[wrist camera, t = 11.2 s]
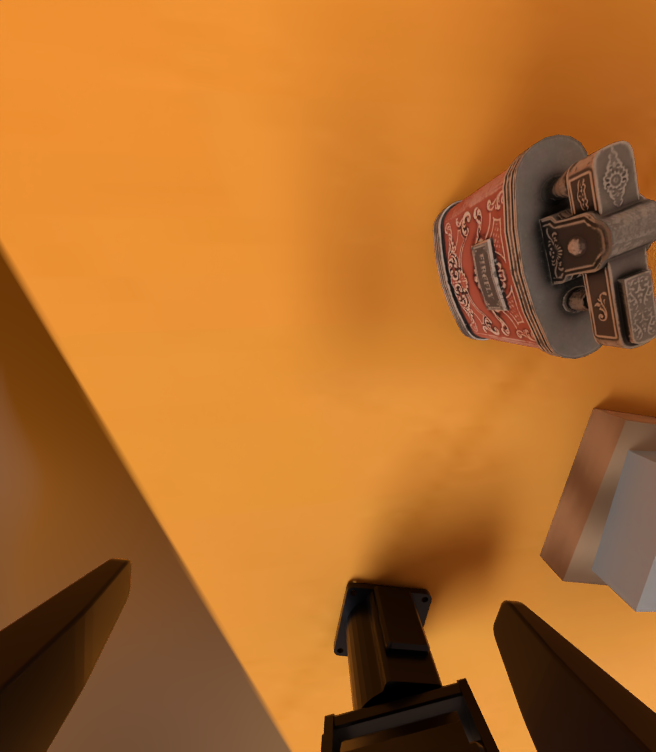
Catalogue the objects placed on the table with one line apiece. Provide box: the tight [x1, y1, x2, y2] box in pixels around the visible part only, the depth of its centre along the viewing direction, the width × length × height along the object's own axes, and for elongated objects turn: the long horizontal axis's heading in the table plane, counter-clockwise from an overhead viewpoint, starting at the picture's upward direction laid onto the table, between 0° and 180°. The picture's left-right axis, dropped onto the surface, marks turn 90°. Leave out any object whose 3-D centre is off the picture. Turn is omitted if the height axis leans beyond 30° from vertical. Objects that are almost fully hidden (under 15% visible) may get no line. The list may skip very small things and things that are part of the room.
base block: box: [540, 408, 656, 585], centre depth 22 cm, size 12×12×3 cm
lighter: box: [433, 135, 656, 359], centre depth 14 cm, size 8×3×10 cm, turn 21°
